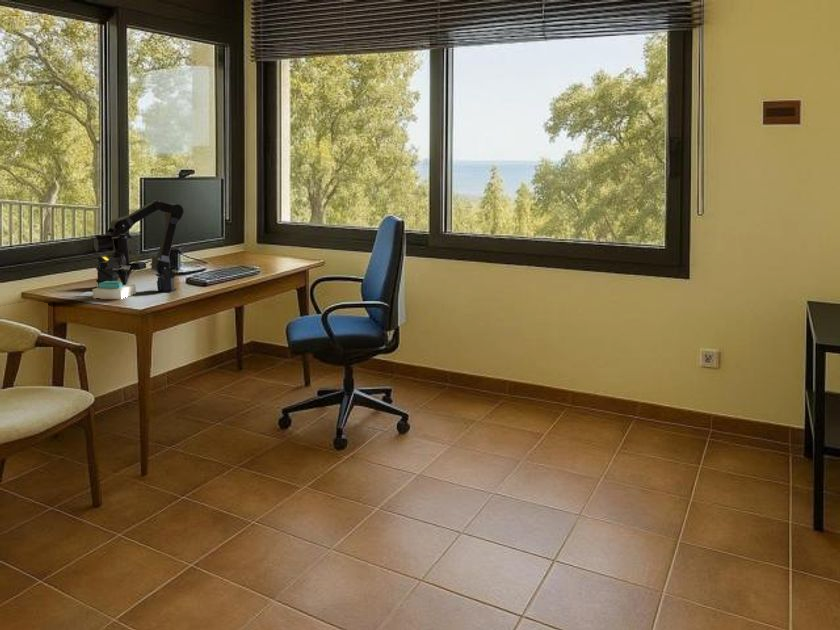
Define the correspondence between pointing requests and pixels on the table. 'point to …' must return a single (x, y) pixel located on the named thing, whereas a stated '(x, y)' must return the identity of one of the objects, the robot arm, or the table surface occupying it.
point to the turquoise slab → (111, 284)
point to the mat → (86, 294)
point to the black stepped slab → (105, 272)
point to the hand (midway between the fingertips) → (124, 285)
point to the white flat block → (114, 292)
